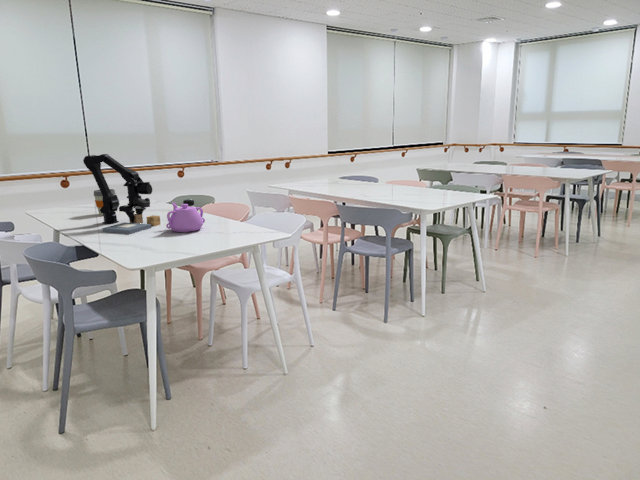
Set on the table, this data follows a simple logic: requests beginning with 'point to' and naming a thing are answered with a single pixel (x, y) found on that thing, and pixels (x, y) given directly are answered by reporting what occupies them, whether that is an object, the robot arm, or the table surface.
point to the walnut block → (137, 218)
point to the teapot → (185, 218)
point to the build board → (126, 228)
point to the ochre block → (153, 220)
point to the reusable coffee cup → (100, 199)
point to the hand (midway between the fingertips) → (136, 221)
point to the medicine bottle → (189, 203)
